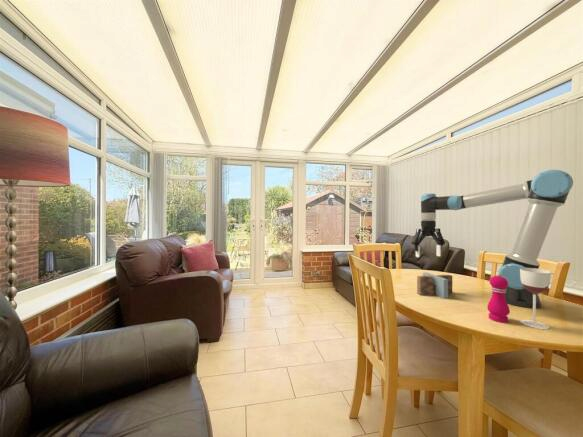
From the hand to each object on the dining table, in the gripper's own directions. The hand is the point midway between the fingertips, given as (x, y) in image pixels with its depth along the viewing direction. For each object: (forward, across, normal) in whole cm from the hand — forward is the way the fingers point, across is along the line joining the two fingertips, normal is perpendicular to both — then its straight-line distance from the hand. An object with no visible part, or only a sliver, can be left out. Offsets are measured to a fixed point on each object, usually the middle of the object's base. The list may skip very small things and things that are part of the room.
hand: (428, 256), depth 140 cm
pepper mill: (+20, -2, +39) cm, 44 cm away
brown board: (+20, 0, +5) cm, 21 cm away
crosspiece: (+20, 0, +5) cm, 21 cm away
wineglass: (+20, -12, +45) cm, 51 cm away
